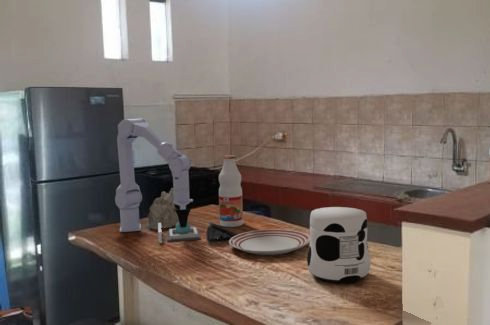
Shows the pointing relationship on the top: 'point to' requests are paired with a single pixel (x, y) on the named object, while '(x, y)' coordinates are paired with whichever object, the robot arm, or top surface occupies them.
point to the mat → (183, 235)
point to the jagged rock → (163, 211)
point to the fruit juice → (230, 194)
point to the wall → (159, 232)
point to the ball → (182, 230)
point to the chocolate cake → (218, 233)
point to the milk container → (338, 244)
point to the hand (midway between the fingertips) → (182, 224)
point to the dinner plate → (269, 241)
